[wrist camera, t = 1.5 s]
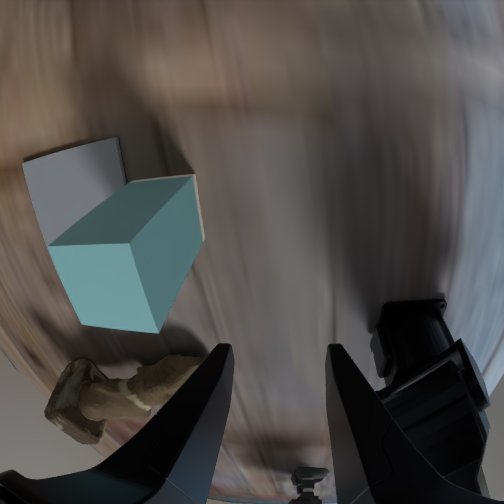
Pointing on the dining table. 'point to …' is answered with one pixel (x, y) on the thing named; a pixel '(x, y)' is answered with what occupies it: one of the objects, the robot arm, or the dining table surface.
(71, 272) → the teal block
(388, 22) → the dining table surface
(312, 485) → the toy robot
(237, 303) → the dining table surface
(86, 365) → the sculpture
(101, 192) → the felt mat
